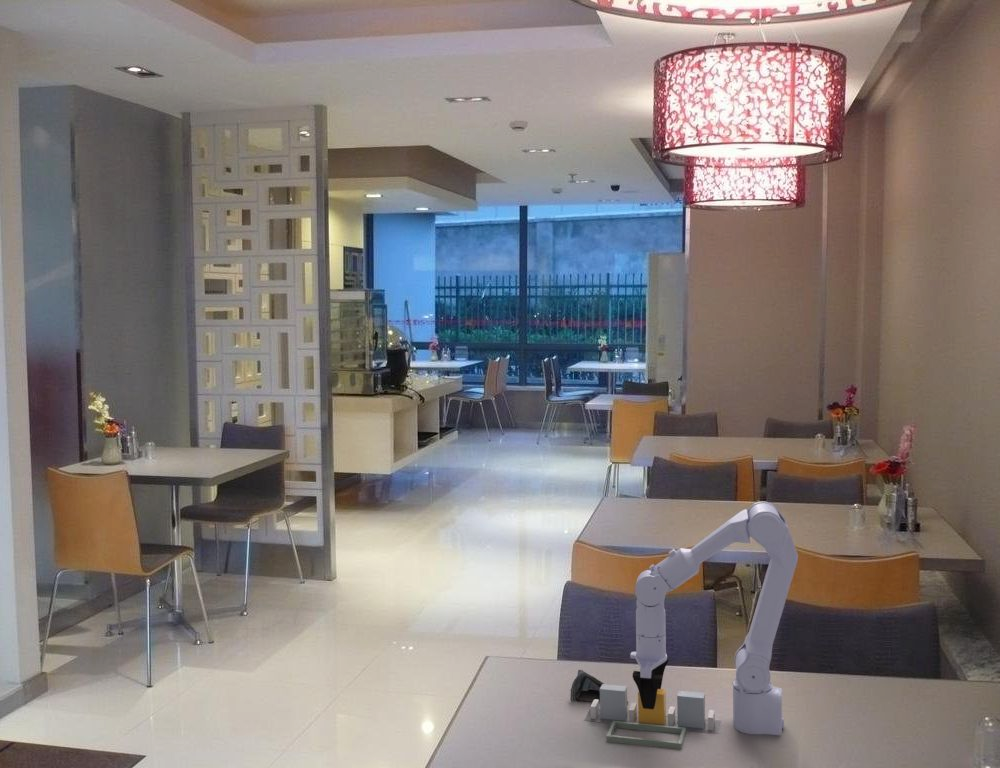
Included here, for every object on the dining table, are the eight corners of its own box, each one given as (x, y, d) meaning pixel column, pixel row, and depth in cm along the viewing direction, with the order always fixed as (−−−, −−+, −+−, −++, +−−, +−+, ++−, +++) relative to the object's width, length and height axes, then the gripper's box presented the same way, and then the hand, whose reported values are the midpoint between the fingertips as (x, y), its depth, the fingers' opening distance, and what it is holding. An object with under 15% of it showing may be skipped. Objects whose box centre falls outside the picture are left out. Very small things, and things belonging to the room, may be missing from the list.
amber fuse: (665, 719, 200) (665, 689, 199) (664, 724, 198) (663, 694, 197) (640, 716, 201) (640, 687, 201) (638, 722, 199) (638, 692, 198)
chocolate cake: (635, 700, 214) (597, 655, 217) (631, 703, 207) (592, 657, 210) (602, 730, 214) (564, 685, 218) (597, 735, 207) (558, 688, 211)
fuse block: (721, 725, 199) (720, 708, 198) (718, 738, 193) (718, 721, 193) (590, 713, 206) (590, 696, 206) (584, 725, 201) (583, 708, 200)
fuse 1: (627, 715, 202) (627, 686, 202) (625, 720, 200) (624, 691, 199) (602, 713, 204) (602, 684, 203) (600, 718, 201) (599, 689, 201)
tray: (685, 737, 194) (685, 727, 194) (681, 754, 187) (681, 743, 187) (613, 730, 198) (613, 720, 198) (606, 746, 191) (606, 735, 191)
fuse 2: (705, 722, 198) (704, 693, 197) (703, 728, 195) (703, 698, 195) (679, 720, 199) (678, 690, 199) (677, 725, 197) (677, 695, 196)
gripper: (636, 619, 206) (637, 684, 207) (624, 643, 192) (624, 713, 193) (671, 622, 204) (671, 687, 205) (661, 646, 190) (662, 717, 191)
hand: (651, 700), depth 199 cm, fingers open, 7 cm apart
